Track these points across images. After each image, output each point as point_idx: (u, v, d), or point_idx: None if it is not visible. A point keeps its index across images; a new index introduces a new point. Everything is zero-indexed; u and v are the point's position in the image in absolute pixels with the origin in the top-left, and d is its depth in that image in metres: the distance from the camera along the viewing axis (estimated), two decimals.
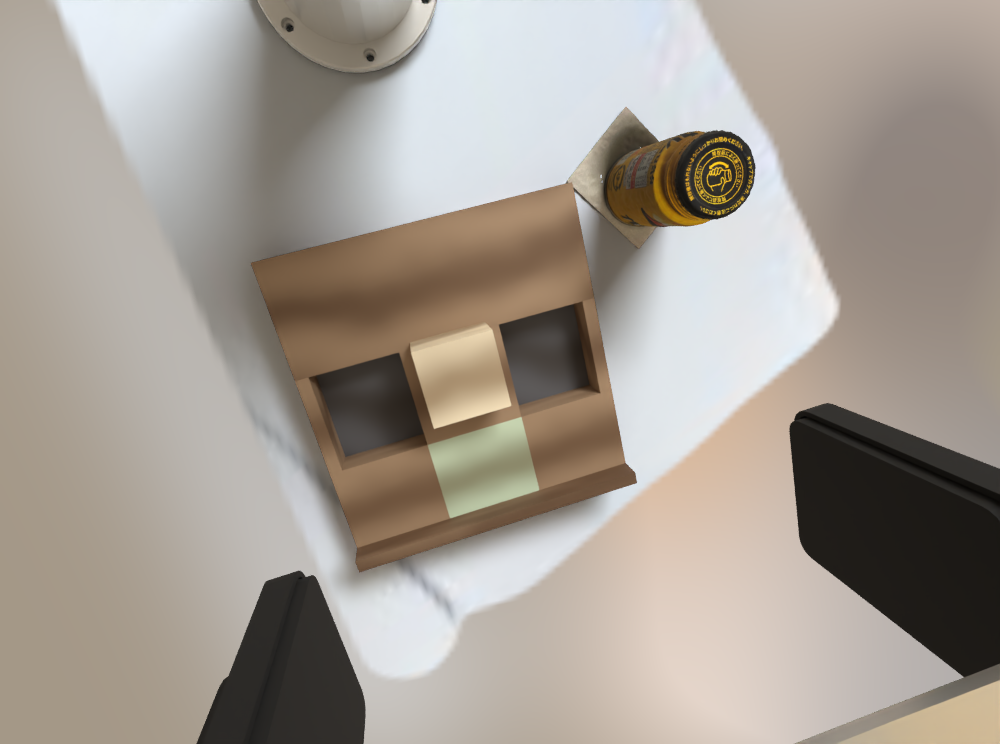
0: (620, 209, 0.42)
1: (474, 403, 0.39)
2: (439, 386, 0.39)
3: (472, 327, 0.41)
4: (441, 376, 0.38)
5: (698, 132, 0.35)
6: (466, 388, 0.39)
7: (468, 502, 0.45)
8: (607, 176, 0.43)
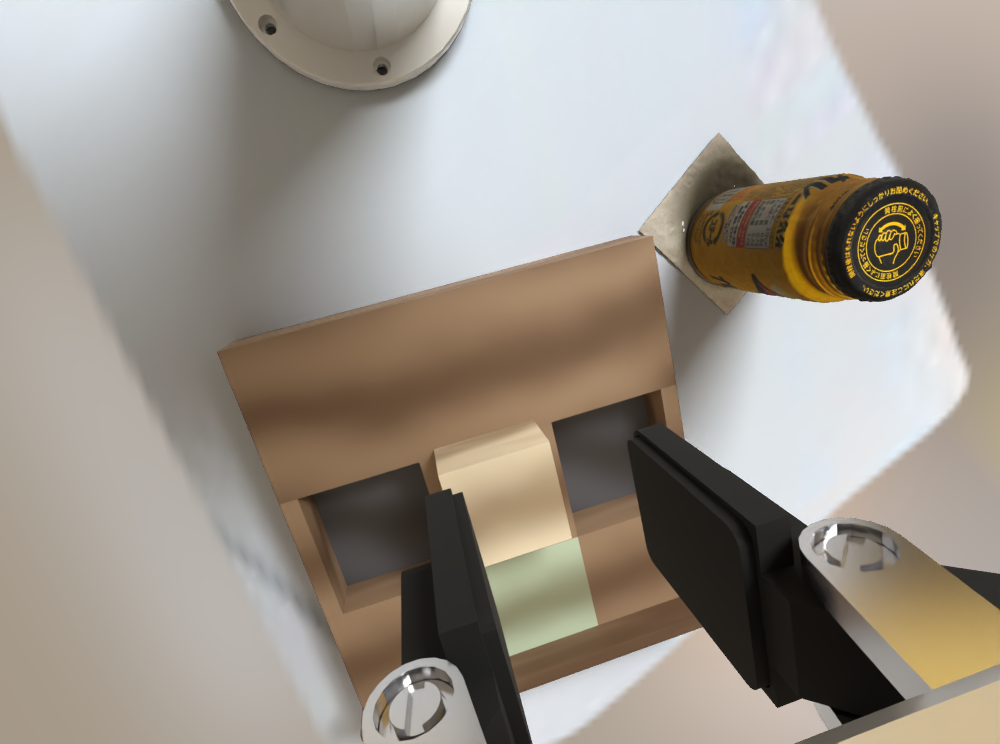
0: (714, 270, 0.31)
1: (522, 537, 0.29)
2: (476, 518, 0.28)
3: (518, 429, 0.30)
4: (479, 504, 0.28)
5: (849, 175, 0.24)
6: (513, 518, 0.29)
7: (507, 644, 0.35)
8: (691, 223, 0.33)
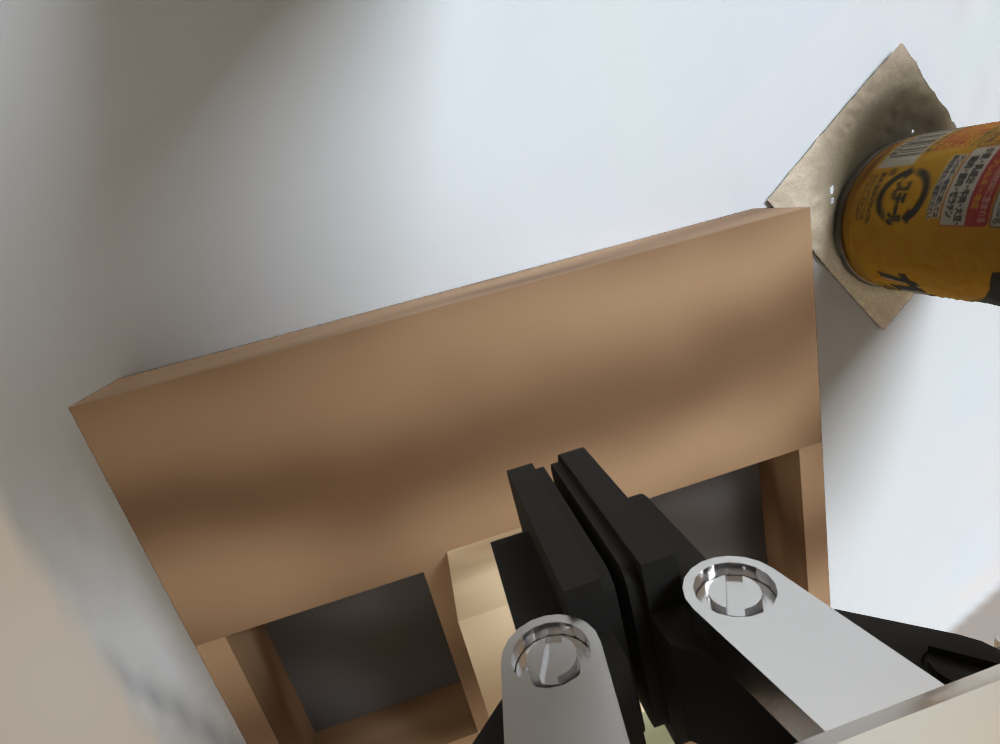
0: (894, 263, 0.20)
1: None
2: None
3: None
4: None
5: None
6: None
7: None
8: (846, 189, 0.21)
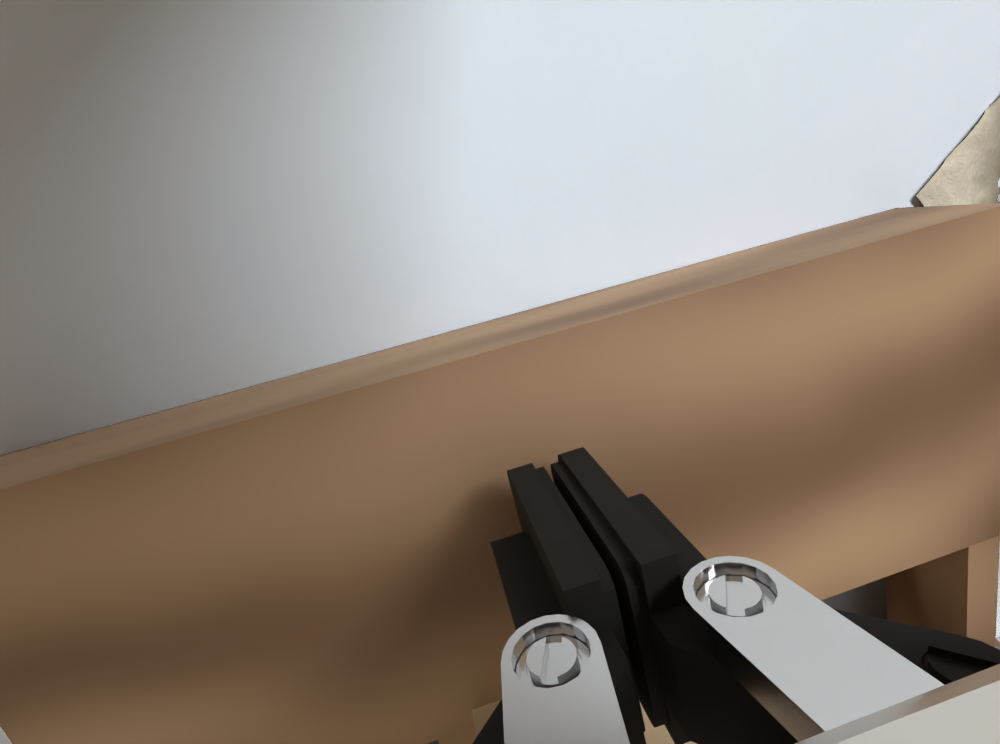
0: None
1: None
2: None
3: None
4: None
5: None
6: None
7: None
8: None
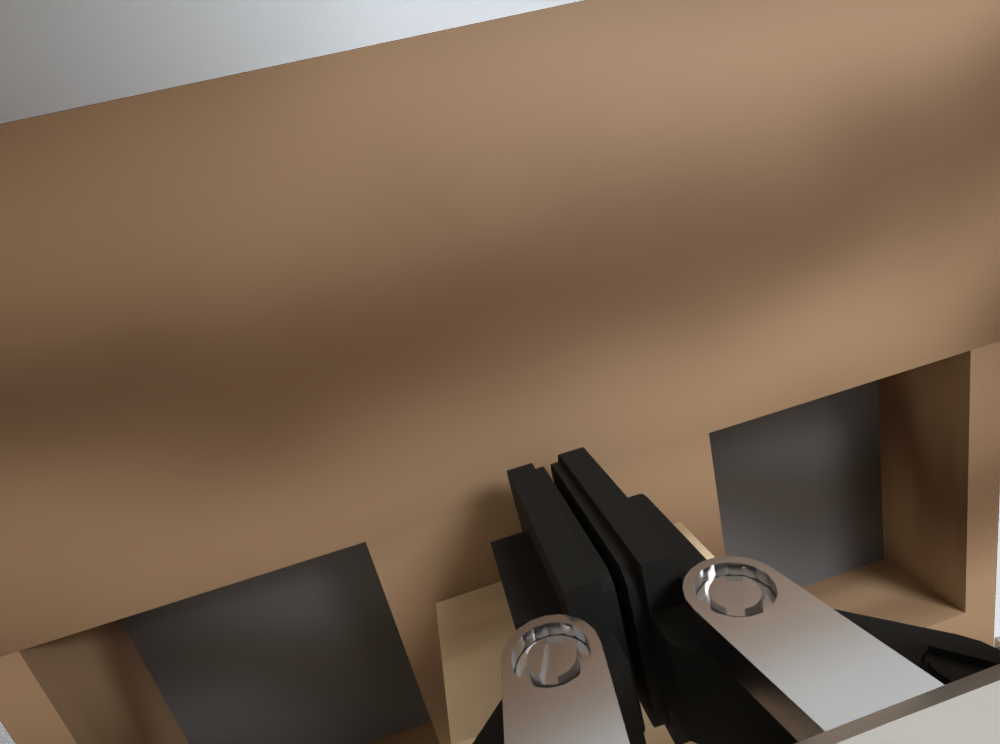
0: None
1: None
2: None
3: None
4: None
5: None
6: None
7: None
8: None
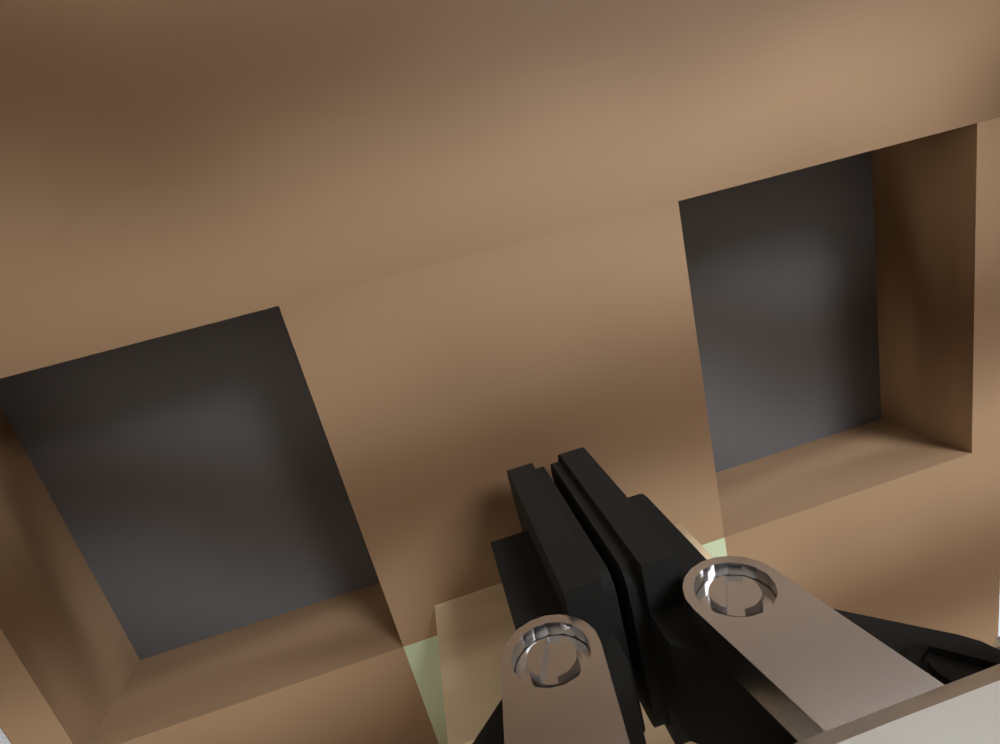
0: None
1: None
2: None
3: None
4: None
5: None
6: None
7: None
8: None
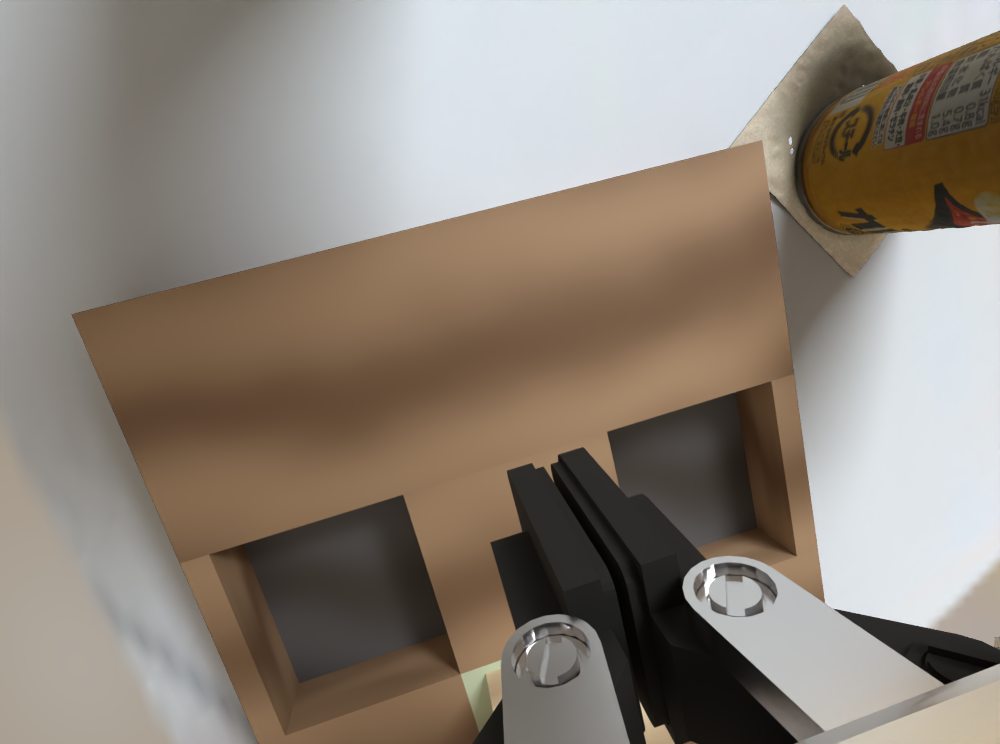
0: (850, 198, 0.21)
1: None
2: None
3: None
4: None
5: None
6: None
7: None
8: (804, 140, 0.23)
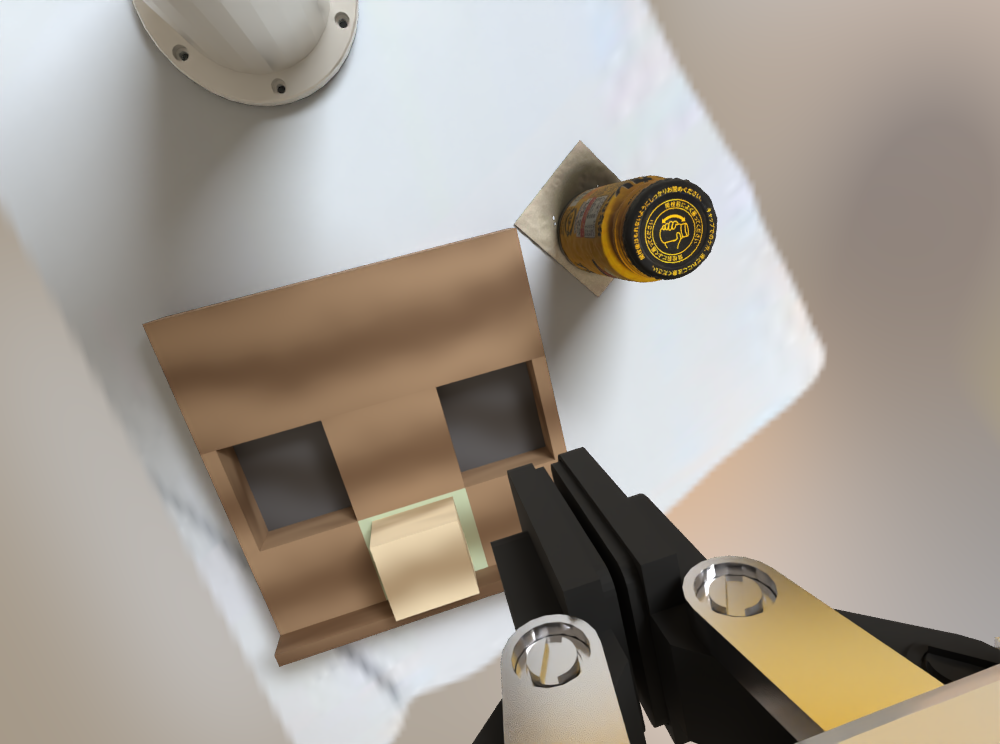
0: (573, 257, 0.37)
1: (439, 593, 0.37)
2: (401, 579, 0.36)
3: (438, 506, 0.38)
4: (403, 569, 0.36)
5: (652, 177, 0.30)
6: (431, 579, 0.36)
7: None
8: (560, 218, 0.38)
